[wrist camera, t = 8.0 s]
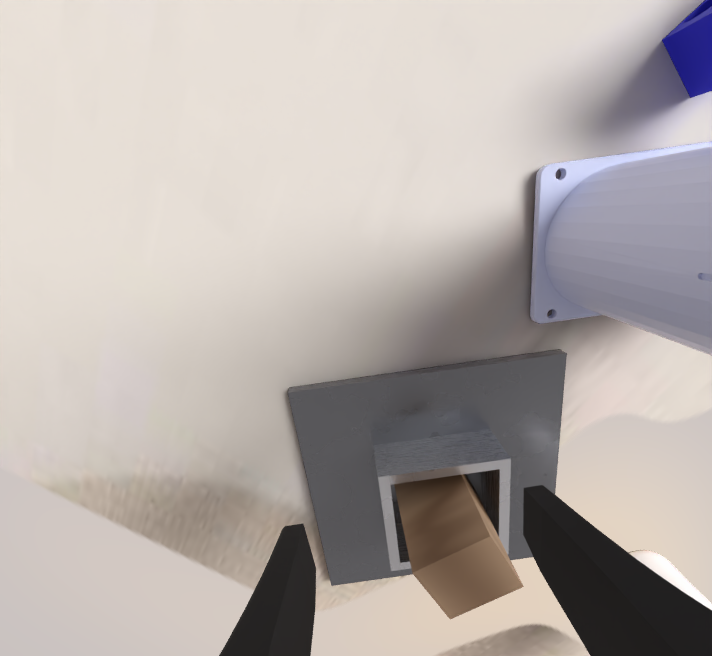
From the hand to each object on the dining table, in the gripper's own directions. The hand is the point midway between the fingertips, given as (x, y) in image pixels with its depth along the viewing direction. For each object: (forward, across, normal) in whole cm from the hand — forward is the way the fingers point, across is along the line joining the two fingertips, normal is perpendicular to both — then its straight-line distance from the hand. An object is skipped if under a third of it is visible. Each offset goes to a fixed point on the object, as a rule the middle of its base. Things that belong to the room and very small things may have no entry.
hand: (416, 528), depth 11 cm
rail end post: (+9, -2, +7) cm, 12 cm away
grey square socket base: (+9, -2, +7) cm, 12 cm away
